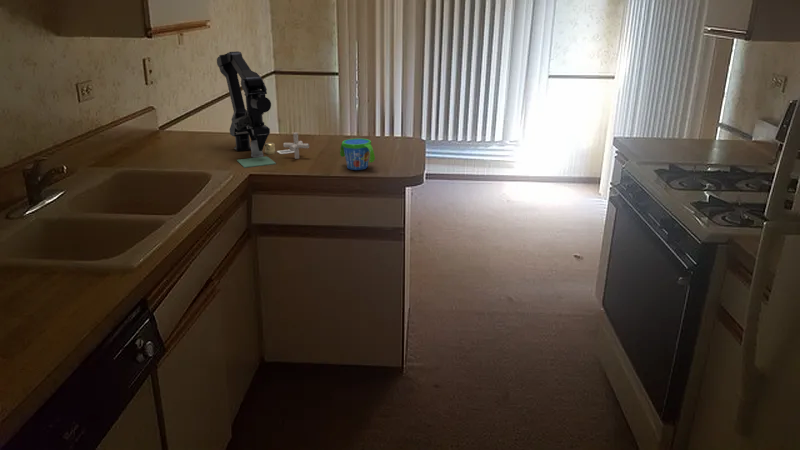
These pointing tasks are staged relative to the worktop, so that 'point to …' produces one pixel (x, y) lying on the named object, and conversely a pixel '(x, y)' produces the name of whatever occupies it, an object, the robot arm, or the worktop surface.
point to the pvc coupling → (255, 150)
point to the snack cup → (357, 153)
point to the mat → (256, 162)
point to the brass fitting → (269, 148)
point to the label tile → (285, 151)
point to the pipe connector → (296, 145)
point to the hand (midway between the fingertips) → (257, 148)
